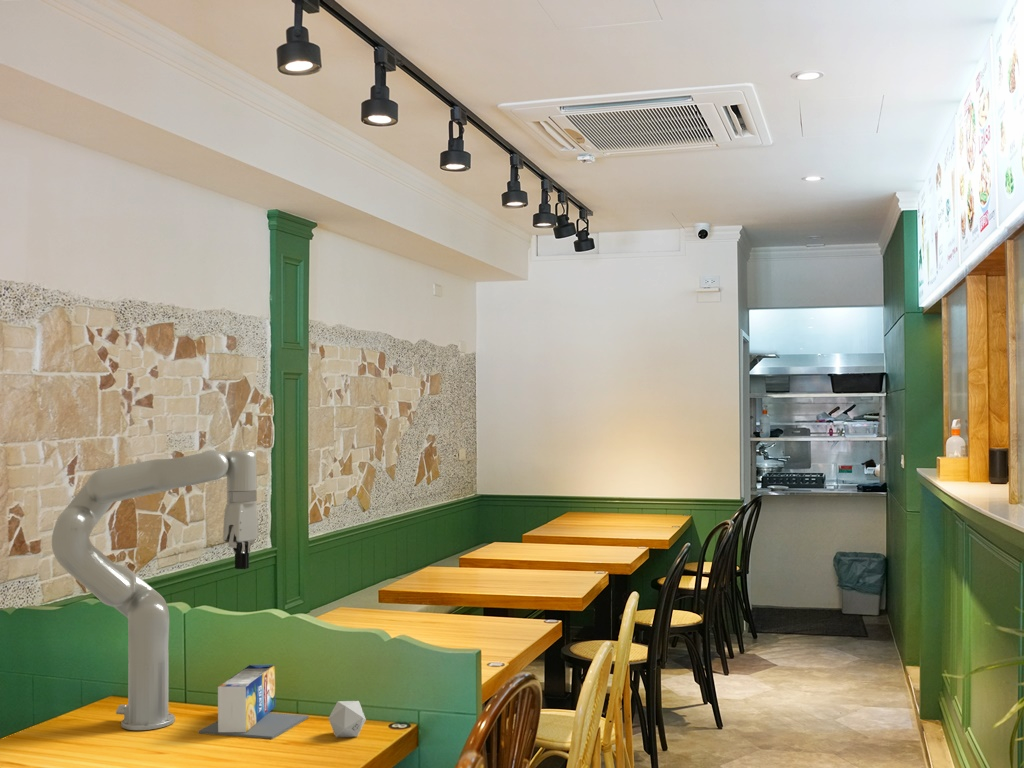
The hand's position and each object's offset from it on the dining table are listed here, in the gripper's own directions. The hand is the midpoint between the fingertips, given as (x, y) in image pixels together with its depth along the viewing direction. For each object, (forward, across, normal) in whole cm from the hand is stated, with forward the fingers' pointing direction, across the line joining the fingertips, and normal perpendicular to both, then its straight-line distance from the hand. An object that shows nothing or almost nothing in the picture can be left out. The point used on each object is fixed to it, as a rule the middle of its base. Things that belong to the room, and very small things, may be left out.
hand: (242, 568), depth 259 cm
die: (+37, +11, +35) cm, 52 cm away
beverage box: (+31, +18, +8) cm, 37 cm away
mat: (+37, +9, +9) cm, 39 cm away
